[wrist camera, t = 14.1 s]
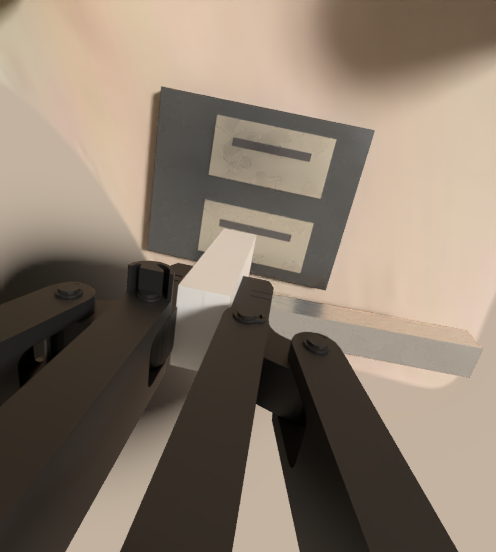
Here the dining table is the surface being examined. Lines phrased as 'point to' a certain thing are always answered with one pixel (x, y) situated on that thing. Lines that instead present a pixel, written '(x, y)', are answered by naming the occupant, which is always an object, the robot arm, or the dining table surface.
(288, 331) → the swing bar
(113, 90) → the dining table surface
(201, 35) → the dining table surface
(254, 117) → the label plate
